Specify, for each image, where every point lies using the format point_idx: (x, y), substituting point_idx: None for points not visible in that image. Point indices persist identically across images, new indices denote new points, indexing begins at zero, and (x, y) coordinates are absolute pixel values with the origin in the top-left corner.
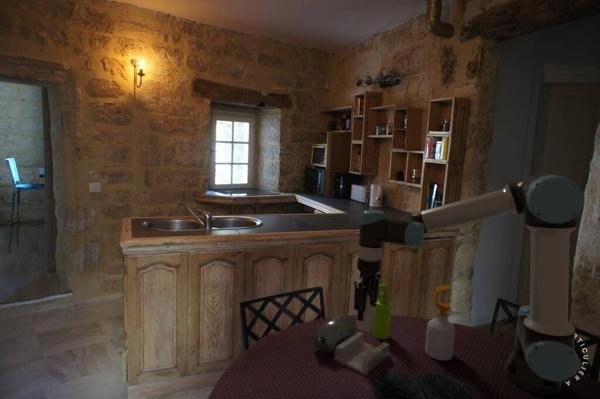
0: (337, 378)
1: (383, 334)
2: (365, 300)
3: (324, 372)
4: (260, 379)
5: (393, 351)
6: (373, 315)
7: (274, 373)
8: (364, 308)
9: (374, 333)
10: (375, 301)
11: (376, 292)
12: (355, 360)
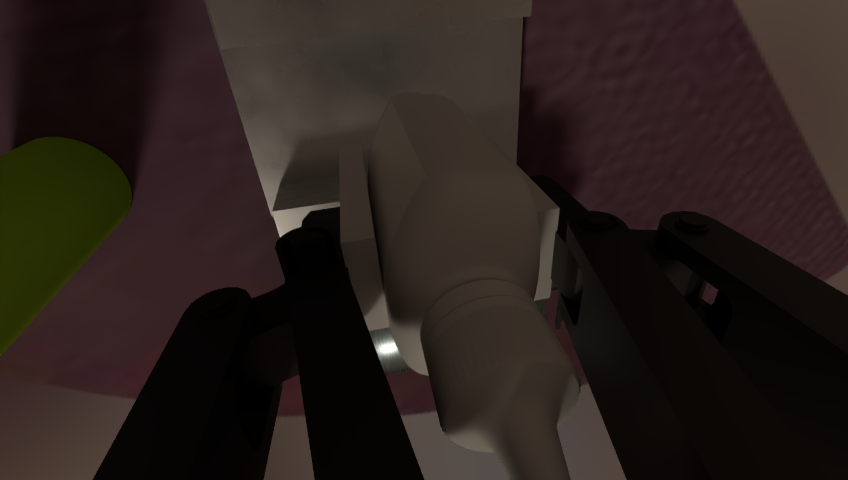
0: (621, 64)
1: (78, 160)
2: (679, 324)
3: (613, 136)
4: (761, 241)
5: (137, 5)
6: (421, 137)
7: None
8: (602, 237)
9: (123, 210)
10: (248, 303)
11: (189, 465)
12: (460, 93)
